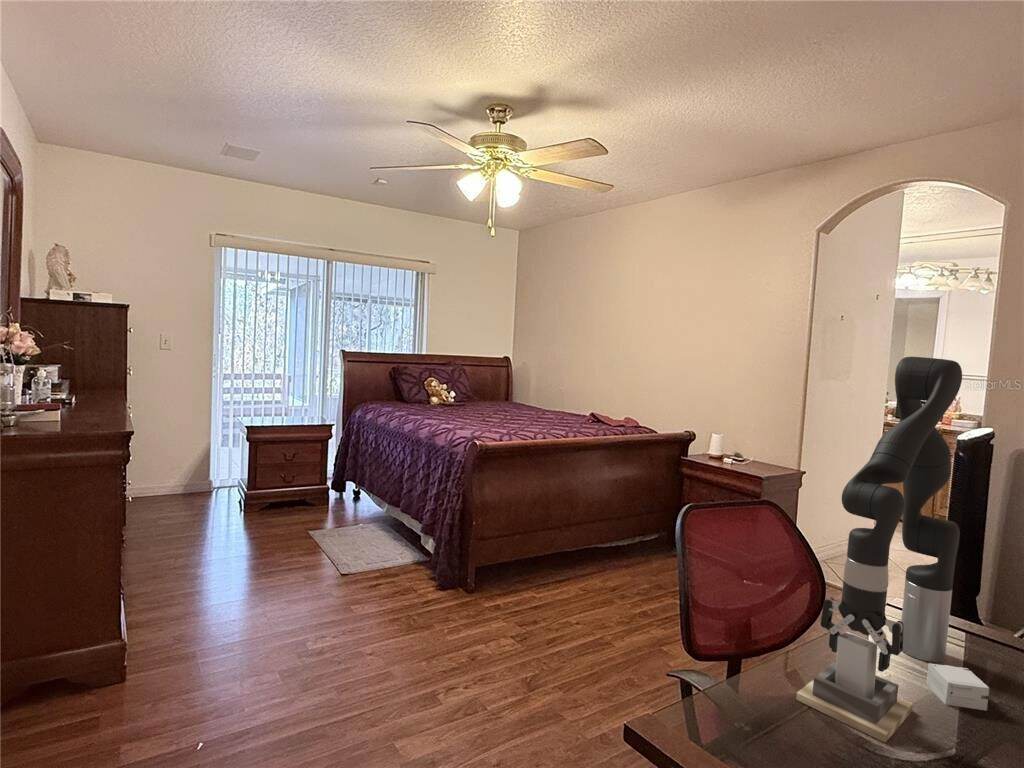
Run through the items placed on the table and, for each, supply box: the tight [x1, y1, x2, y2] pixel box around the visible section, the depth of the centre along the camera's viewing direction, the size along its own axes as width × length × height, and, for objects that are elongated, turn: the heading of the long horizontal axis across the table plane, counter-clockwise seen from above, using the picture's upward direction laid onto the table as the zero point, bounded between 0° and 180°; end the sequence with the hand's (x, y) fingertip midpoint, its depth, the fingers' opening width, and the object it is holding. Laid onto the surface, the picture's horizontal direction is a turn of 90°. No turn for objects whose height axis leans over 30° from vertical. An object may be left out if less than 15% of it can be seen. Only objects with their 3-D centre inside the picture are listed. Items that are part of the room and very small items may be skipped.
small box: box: [926, 662, 990, 711], centre depth 122 cm, size 8×8×5 cm
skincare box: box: [835, 631, 878, 700], centre depth 117 cm, size 6×4×12 cm
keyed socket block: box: [795, 659, 914, 743], centre depth 117 cm, size 16×16×5 cm
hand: (857, 660), depth 117 cm, fingers open, 8 cm apart
